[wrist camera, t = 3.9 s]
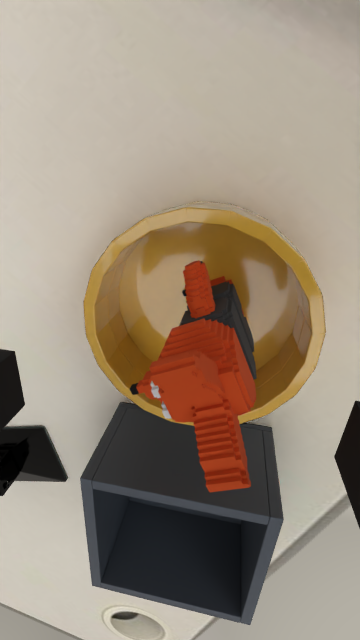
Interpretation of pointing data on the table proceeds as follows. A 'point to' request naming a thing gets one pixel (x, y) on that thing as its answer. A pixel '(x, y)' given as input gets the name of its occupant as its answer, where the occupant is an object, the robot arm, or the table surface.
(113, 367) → the bowl
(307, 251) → the table surface
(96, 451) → the bin
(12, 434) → the build plate
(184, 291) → the toy animal
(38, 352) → the table surface
